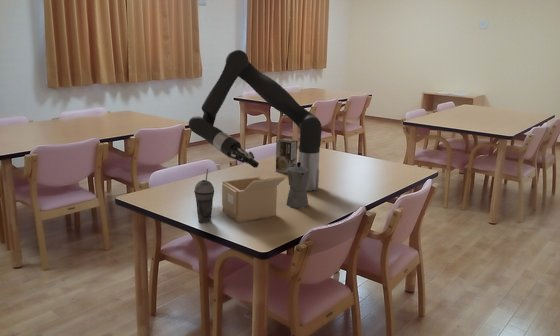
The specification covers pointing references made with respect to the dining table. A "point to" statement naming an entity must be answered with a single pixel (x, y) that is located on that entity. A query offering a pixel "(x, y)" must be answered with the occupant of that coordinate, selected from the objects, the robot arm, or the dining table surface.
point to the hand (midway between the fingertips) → (257, 165)
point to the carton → (248, 200)
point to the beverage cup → (204, 200)
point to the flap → (264, 184)
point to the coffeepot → (297, 186)
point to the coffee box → (285, 154)
